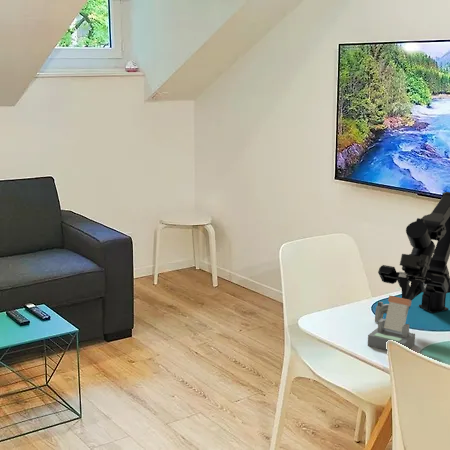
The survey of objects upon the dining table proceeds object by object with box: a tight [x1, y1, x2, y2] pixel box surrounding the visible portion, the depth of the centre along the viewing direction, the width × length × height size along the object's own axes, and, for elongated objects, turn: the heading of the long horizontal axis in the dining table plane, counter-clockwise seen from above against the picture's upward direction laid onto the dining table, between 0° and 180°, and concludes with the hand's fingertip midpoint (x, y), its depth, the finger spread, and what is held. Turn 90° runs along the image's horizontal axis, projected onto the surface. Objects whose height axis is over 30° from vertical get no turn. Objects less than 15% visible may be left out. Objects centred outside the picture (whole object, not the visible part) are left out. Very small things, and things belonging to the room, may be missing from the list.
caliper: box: [374, 301, 389, 324], centre depth 215 cm, size 20×1×6 cm, turn 141°
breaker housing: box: [367, 318, 416, 351], centre depth 192 cm, size 8×10×6 cm
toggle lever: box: [384, 295, 413, 332], centre depth 193 cm, size 2×6×9 cm, turn 56°
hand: (403, 305), depth 197 cm, fingers closed
